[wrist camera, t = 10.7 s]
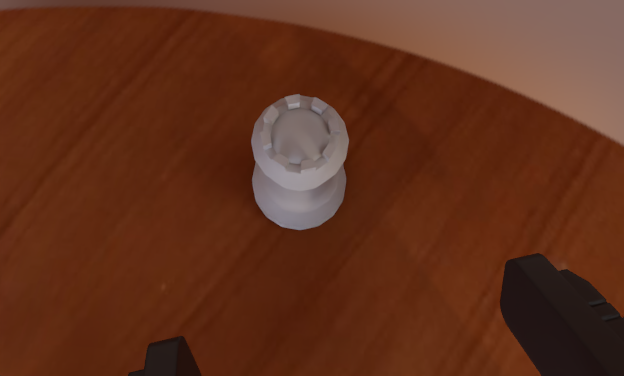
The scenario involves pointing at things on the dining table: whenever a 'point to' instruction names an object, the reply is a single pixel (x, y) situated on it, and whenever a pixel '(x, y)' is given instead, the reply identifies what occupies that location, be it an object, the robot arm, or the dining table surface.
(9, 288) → the dining table surface
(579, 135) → the dining table surface
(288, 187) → the rook chess piece
